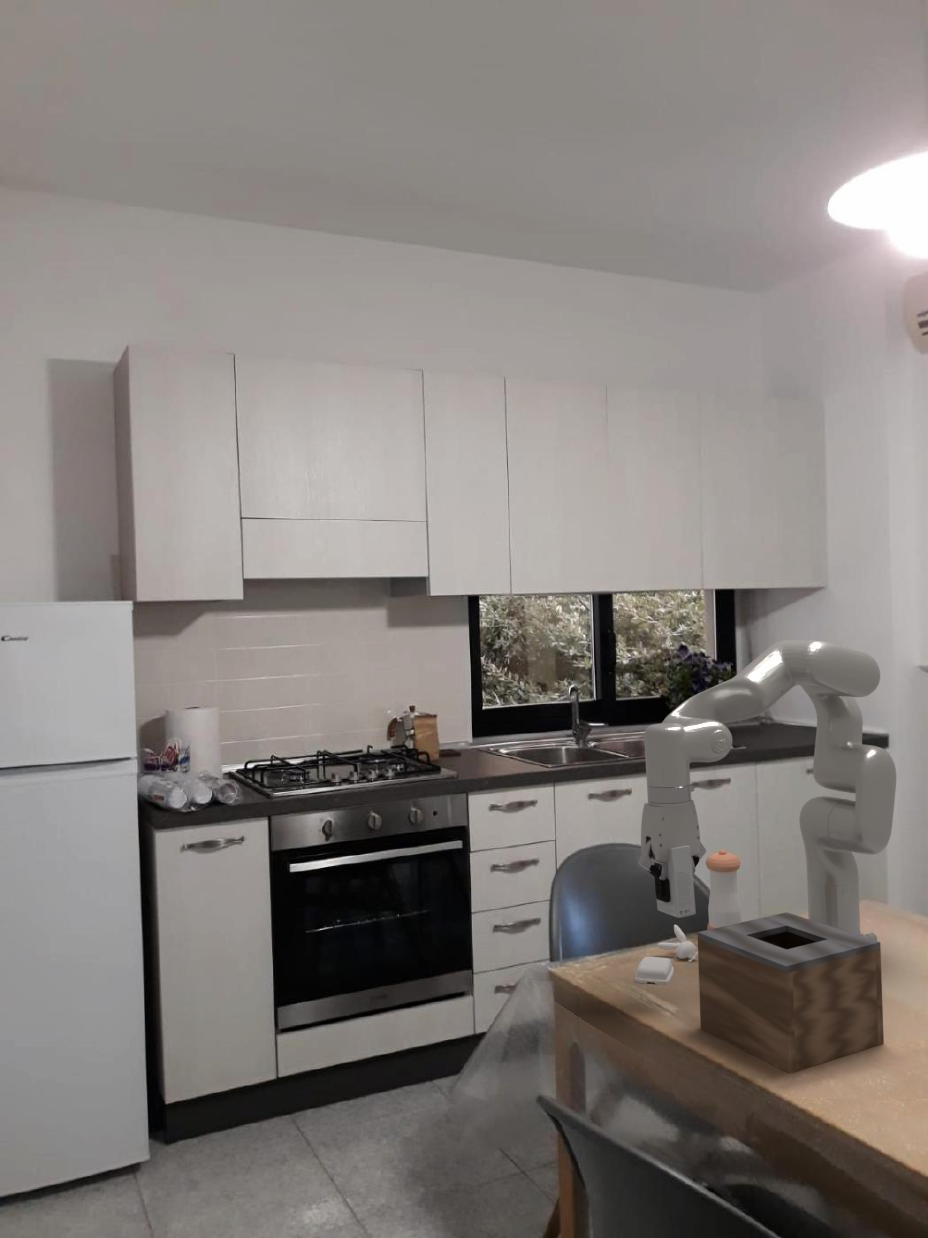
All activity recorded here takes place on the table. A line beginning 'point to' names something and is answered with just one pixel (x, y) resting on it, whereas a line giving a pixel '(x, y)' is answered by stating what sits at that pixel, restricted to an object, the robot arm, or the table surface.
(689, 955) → the rabbit figurine
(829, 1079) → the table surface
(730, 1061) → the table surface
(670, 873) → the skincare box
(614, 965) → the table surface
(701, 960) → the slot box
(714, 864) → the pepper shaker
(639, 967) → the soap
